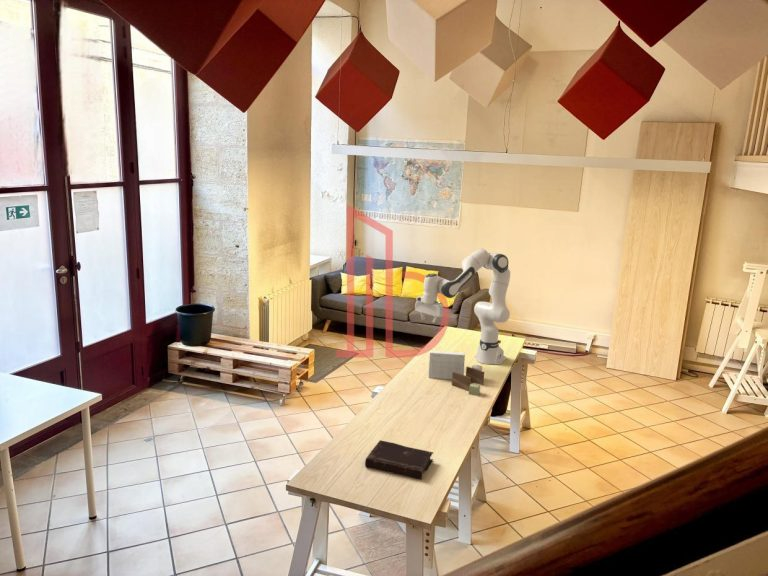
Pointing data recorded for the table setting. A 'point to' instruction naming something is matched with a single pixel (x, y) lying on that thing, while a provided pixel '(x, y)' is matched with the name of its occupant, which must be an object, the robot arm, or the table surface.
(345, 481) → the table surface
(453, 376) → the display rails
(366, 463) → the diary
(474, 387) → the olive block
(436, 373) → the skincare box
